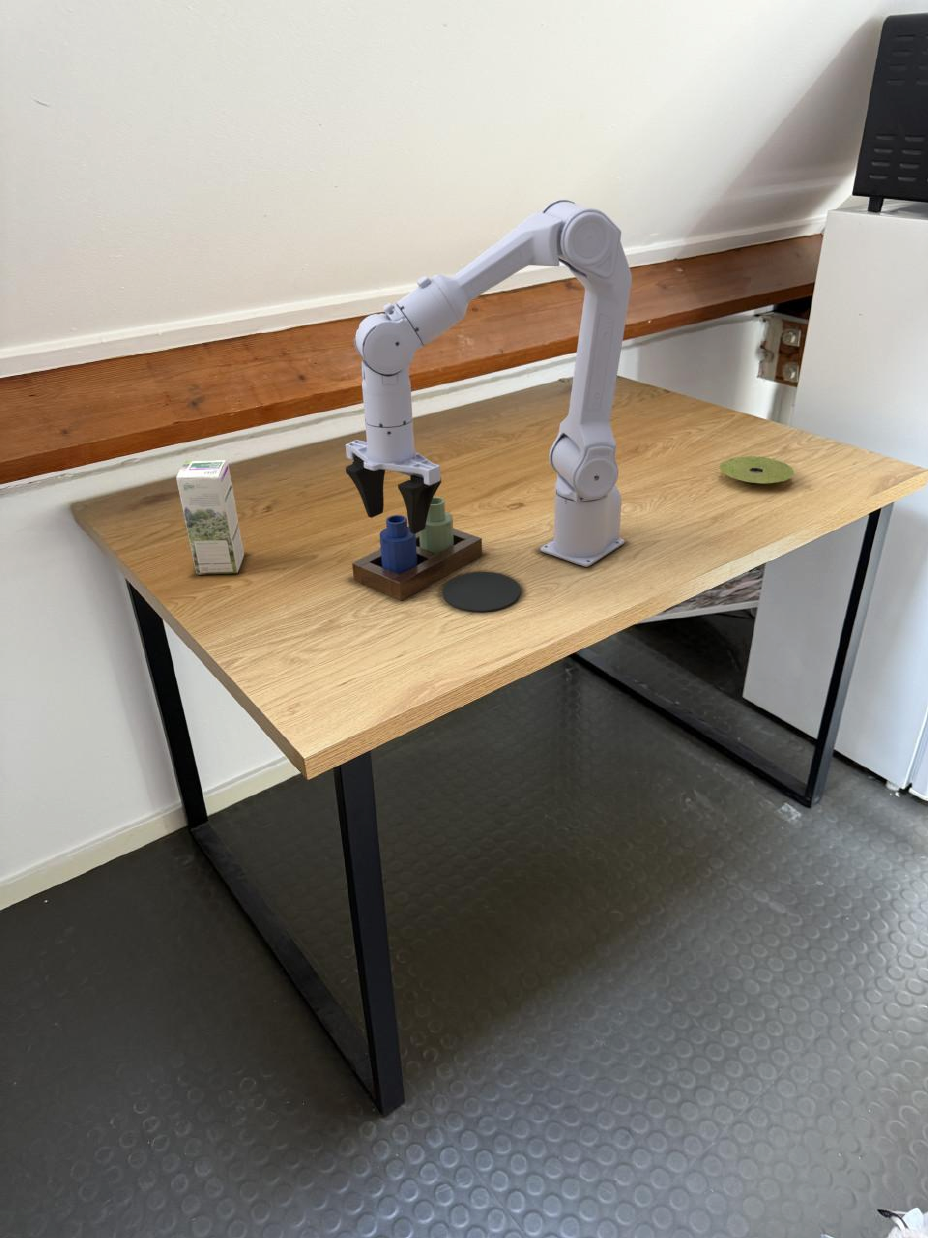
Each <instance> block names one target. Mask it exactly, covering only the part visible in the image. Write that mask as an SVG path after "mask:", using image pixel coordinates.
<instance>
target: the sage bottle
mask: <svg viewBox="0 0 928 1238" xmlns="http://www.w3.org/2000/svg"><path fill="white" fill-rule="evenodd" d="M453 520H454V518H453V515H452V514H451V513H450V512H447V511H446V502H445V498H443V497H439V496H434V497H433V499H432V502H431V505H430V508H429V512H428V516H427V521H426V526H425V529H424V530H422V531H420V532H419V539H420V548H422V549H425V550H428V551H430V552H433V553H435V554H439V553H441V552H443V551H445V550H447V549H449V548H450V547H452V546H454V539H453V528H454V521H453Z"/></svg>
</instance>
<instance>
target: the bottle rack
mask: <svg viewBox="0 0 928 1238" xmlns="http://www.w3.org/2000/svg"><path fill="white" fill-rule="evenodd" d="M415 536H416V551H417V566H415V567H413V568H411V569H410V570H408V571H406V572H404V573H402V574H400V575H399V574H396V573H394V572H392V571H389V570H387V569H384V568H382V558H381V548H379V549H377V550H375V551H373V552H370V553H369V554H367V555H366V556H365V555H364V556H363V557H361V558H360V559H357V560H355V561H353V562H352V563H351V565H352V575H353V581H355V582H357V583H359V584H361V585H364V586H366V587H368V588H371V589H372V590H376V591H378V592H380V593H382V594H384V595H387V596H389V597H392V598H393V599H396V600H398V601H404V600H405V599H407V598H409V597H410V596H413V595H414V594H416V593H418V592H419V591H421V590H423V589H425V588H427V587H428V586H430V585H432V584H434V583H436V582H437V581H439V580H441V579H443V578H444V577H447V576H448V575H450V574H451V573H453V572H455V571H457V570H458V569H460V568H462V567H464V566H466V565H467V564H469V563H471V562H473V561H474V560H477V559H478V558H479V557H482V556H483V538H482V537H480V536H477V535H473V534H470V533H468V532H466V531H462V530H460V529H458V528H454V527H453V539H454V546H452V547H450V548H449V549H447V550H445V551H443V552H441V553H439V554H435V553H433V552H430V551H428V550H425V549H422V548H420V539H419V532H418V533H416V534H415Z"/></svg>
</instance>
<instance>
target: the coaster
mask: <svg viewBox="0 0 928 1238" xmlns="http://www.w3.org/2000/svg"><path fill="white" fill-rule="evenodd" d="M521 592H522V591H521V586H520V584H519V583H518V582H517V581H516V580H515V579H513V578H512V577H511V576H508V575H505V574H502V573H498V572H494V571H493V572H492V571H476V572H475V571H474V572H467V573H464V574H460V575H458V576H455V577H453V578H451V579H450V580H449V581H447V582H446V583H445V585H444V586H443V587H442V598H443V600H444V601H445V602H446V603H447V604H448V605H450V606H451V607H452V608H455V609H458V610H460V611H465V612H469V613H470V612H471V613H491V612H497V611H501V610H503V609H506V608H508V607H510V606H512V605H514V604H515V603H516V602H518V600H519V598H520V596H521Z"/></svg>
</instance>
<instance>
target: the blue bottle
mask: <svg viewBox="0 0 928 1238" xmlns="http://www.w3.org/2000/svg"><path fill="white" fill-rule="evenodd" d="M385 524H386V525H385V526H386V528H383V529H382V530H381V531H380V532H379V544H380V549H381V558H382V568H384V569H387V570H389V571H392V572H394V573H396V574H399V575H400V574H402V573H404V572H406V571H408V570H410V569H411V568H413V567H415V566H417V551H416V536H415V534H413V533H411V532H410V529H409V526H408V518H407V516H405V515H402V514H394V515H390V516H388V517H387V518H386V519H385Z"/></svg>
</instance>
